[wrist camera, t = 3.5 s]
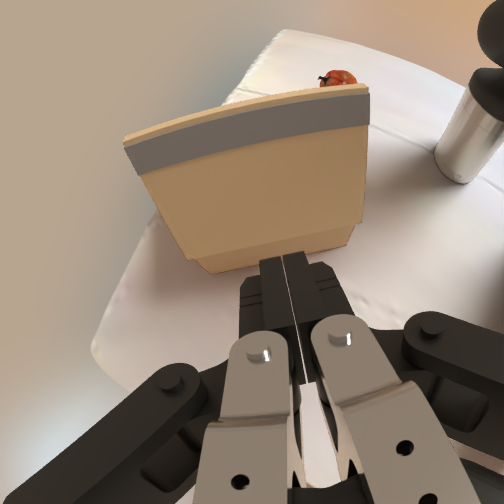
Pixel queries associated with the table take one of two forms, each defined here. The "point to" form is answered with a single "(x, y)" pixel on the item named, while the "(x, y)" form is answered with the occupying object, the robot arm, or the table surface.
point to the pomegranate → (337, 78)
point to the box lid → (258, 168)
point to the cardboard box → (276, 250)
